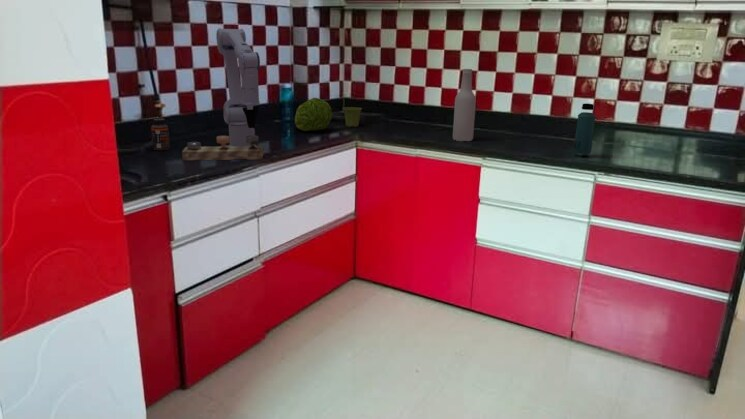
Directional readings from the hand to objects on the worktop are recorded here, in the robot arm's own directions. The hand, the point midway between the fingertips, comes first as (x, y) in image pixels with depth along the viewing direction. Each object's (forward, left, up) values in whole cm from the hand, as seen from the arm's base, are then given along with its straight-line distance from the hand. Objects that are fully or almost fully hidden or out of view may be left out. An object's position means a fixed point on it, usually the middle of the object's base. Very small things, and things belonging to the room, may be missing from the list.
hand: (251, 127), depth 198 cm
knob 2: (0, 0, -7) cm, 7 cm away
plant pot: (-82, -18, -11) cm, 85 cm away
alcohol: (-84, +41, -11) cm, 94 cm away
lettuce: (-59, -24, -11) cm, 65 cm away
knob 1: (+14, -14, -10) cm, 22 cm away
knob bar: (+7, -7, -10) cm, 14 cm away
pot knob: (+7, -7, -7) cm, 12 cm away
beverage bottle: (-83, +92, -11) cm, 124 cm away
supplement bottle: (+13, -35, -11) cm, 39 cm away
